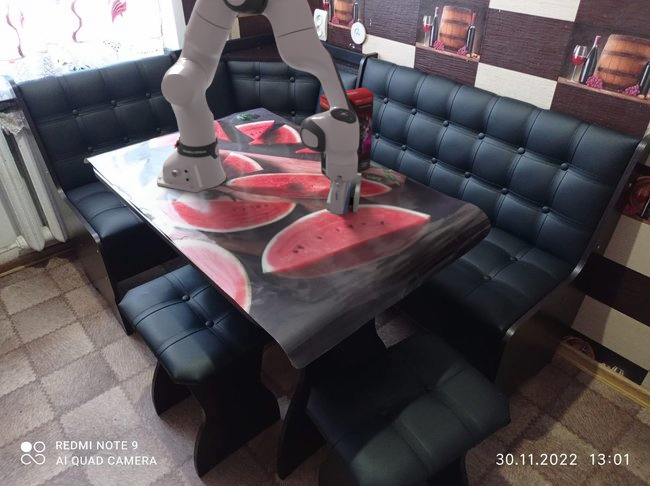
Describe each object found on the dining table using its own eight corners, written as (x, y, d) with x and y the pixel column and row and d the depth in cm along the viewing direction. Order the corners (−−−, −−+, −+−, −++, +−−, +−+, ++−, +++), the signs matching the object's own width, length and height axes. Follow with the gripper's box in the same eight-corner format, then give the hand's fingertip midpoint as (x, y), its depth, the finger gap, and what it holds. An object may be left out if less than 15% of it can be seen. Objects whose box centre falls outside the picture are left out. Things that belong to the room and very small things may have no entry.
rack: (326, 209, 148) (326, 186, 143) (330, 193, 156) (331, 171, 151) (357, 212, 147) (358, 189, 142) (359, 195, 155) (361, 173, 150)
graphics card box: (328, 180, 163) (330, 101, 147) (318, 172, 168) (319, 94, 152) (370, 169, 170) (376, 92, 154) (359, 161, 175) (364, 86, 159)
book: (334, 213, 146) (334, 195, 143) (338, 196, 154) (338, 179, 151) (347, 214, 146) (348, 196, 142) (350, 197, 154) (351, 180, 150)
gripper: (348, 187, 126) (346, 231, 134) (356, 154, 142) (354, 194, 150) (324, 185, 126) (324, 229, 134) (335, 152, 143) (333, 193, 151)
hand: (340, 210), depth 142 cm, fingers closed
